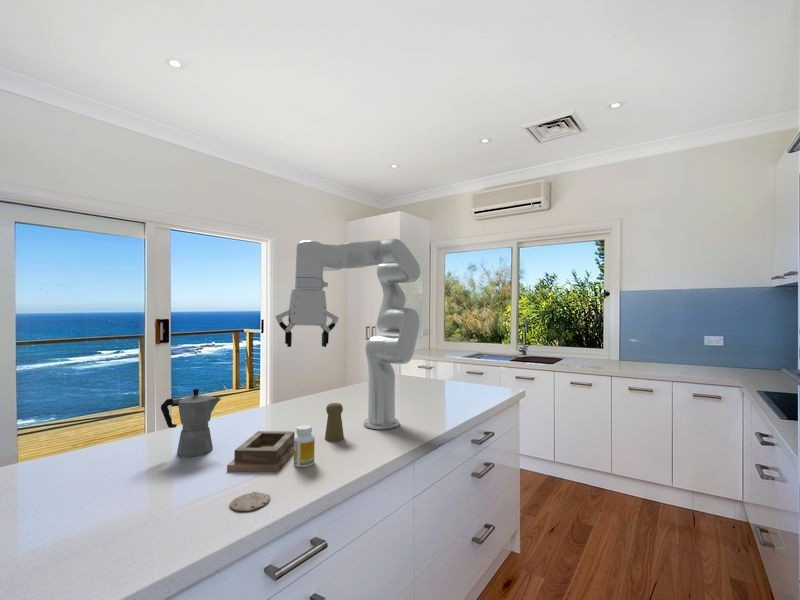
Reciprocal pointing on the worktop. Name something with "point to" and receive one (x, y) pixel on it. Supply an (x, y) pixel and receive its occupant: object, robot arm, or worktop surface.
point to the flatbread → (250, 501)
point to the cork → (334, 422)
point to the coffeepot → (192, 422)
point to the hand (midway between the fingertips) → (306, 346)
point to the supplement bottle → (304, 446)
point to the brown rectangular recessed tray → (263, 452)
